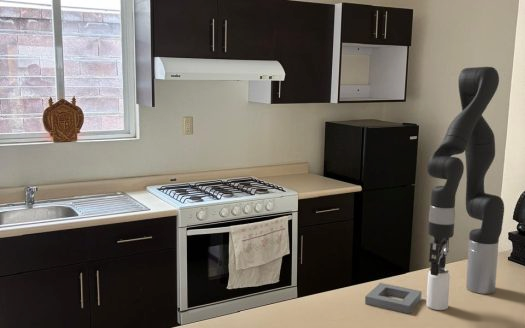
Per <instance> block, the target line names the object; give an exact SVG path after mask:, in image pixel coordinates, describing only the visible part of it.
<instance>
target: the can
mask: <svg viewBox="0 0 525 328" xmlns="http://www.w3.org/2000/svg"><path fill="white" fill-rule="evenodd" d="M450 277H451V276H450V273H449V270H448V269H447V268H440V267H439V274H438V275H437V276H435V275H431V267H430V268H429V271H428V273H427V282H426V283H427V284H426V285H427V286H426V287H427V288H426V302H425V303H426V306H427V307H428V308H429V309H430V310H432V311H433V310H434V311H439V312H440V311H446V310H447V309H448V308H449V298H450V297H449V295H450Z"/></svg>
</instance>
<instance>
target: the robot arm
mask: <svg viewBox="0 0 525 328" xmlns="http://www.w3.org/2000/svg"><path fill="white" fill-rule="evenodd" d="M499 83H500V76H499V72H498V71H497V69H496V68H495V67H493V66H478V67H477V66H476V67H466V68H462V70H461V71H460V73H459V76H458V93H459V99H460V105H461V111H460V113H459V114H457V115H456V116H455V117H454V119H453V120H452V121H451V123H450V125H449V126H448V128H447V130H446V133H445V135H444V138H443V140H442V142H441V143H440V144H439V145H438V147H437V148H436V149H435V151H433V153H432V155H430V157H429V158H428V161H427V163H426V164H427V165H426V171H427V174H428V175H429V176H430V177H432V178H434V179H435V178H436V179H441V180H446V181H445V184H444V185H438V186H434V187H433V188H432V189H431V195H430V208H429V212H428V225H427V226H428V227H427V234H428V235H429V236H430V237H433V241H432V242H430V245H429V247H430V248H429V255H428V256H429V257H428V258H429V259H428V263H430V268H431V275H435V276H437V275H438V274H439V267H440V268H445V267H446V261H447V260H446V259H447V255H448V253H449V251H450V250H449V248H450V246H449V244H450V239H451V238H453V237H454V232H455V219H456V211H455V209H456V207H455V206H456V195H457V190H458V188H459V186H460V185H459V184H460V183H461V179H462V177H463V174H464V171H465V169H466V171H465V172H466V174H465V175H466V180H465V181H466V185H465V210H466V213H467V214H468V216H469V217H471V218H473V219H476V220H477V221H478V220H479V221H482V222H481V226H480V228H476V229H475V228H474V229H471V230H470V232H469V235H468V236H469V238H468V251H467V253H468V255H467V267H466V268H467V269H466V284H465V287H466V289H467V290H468V291H471V292H472V293H477V294H484V295H485V294H486V295H487V294H488V295H489V294H493V293H495V292H496V283H497V282H496V281H497V272H498V271H497V270H498V256H499V241H500V236H501V234H502V230H503V222H504V216H505V204H504V201H503V199H502V197H500V196H499V195H495V194H490V193H486V192H485V177H486V174H487V172H488V170H489V169H490V167H491V165H492V163H493V162H494V159H495V157H496V142H495V140H496V139H495V133H494V131H493V129H492V128H491V126H490V125H489V123H488V122H487V120H486V119H485V117H484V116H483V114H484V113H485V111H486V109H487V107H488V105H489V103H490V102H491V101H492V98H493V97H494V96H495V93H496V92H497V90H498V87H499ZM460 154H464V155H465V166H464V163H463V161H462V159H461V158H459V157H456V155H460ZM464 167H466V168H464ZM445 269H446V268H445Z"/></svg>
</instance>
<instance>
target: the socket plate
mask: <svg viewBox="0 0 525 328" xmlns="http://www.w3.org/2000/svg"><path fill="white" fill-rule="evenodd" d="M422 293H423V291H422V290H417V289H414V288H408V287H404V286H397V285H395V284H394V285H393V284H390V283H384V282H379V283H378V284H377V285H376V286H375V287H374V288H373V289H371V291H370V292H368V293H367V294H366V295H365V297H364V298H365V299H364V300H365V301H364V303H365V305H369V306H373V307H378V308H382V309H386V310H392V311H396V312H400V313H404V314H408V315H409V314H410V313H411V312H412V311H413V309H414V308H415V307H416V306H417V304H418V303H419V302H420V301H421V300H422ZM387 296H391V297H387ZM392 297H394V298H392ZM395 297H396V298H395ZM398 298H400V299H398ZM401 299H402V300H401Z"/></svg>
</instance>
